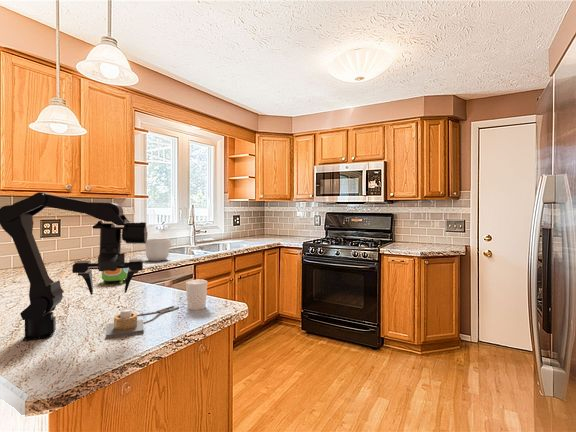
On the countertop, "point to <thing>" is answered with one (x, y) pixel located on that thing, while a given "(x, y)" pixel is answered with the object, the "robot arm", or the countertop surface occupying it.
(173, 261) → the countertop surface
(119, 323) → the ring
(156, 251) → the planter
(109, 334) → the grey peg stand
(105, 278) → the turtle holder
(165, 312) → the pliers
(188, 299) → the white cup
